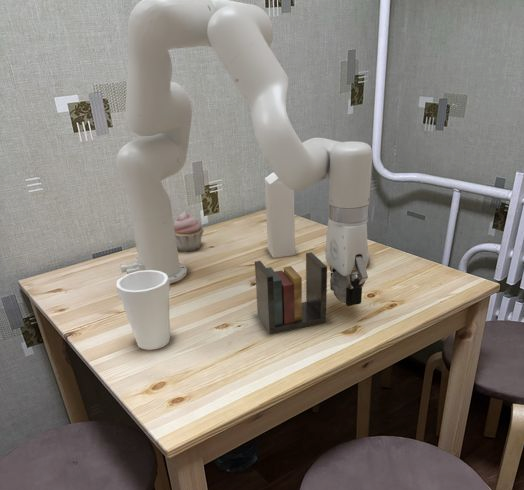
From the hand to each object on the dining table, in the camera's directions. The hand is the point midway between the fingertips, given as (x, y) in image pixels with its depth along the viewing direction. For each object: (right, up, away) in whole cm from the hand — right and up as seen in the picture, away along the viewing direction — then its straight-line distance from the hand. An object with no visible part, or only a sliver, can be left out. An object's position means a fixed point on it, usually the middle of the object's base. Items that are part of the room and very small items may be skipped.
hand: (345, 296), depth 109 cm
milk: (-12, +14, +30) cm, 35 cm away
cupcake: (-37, +17, +36) cm, 55 cm away
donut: (+4, +10, +21) cm, 24 cm away
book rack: (-11, -5, -1) cm, 12 cm away
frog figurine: (0, -1, +1) cm, 1 cm away
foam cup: (-39, -10, -6) cm, 40 cm away
